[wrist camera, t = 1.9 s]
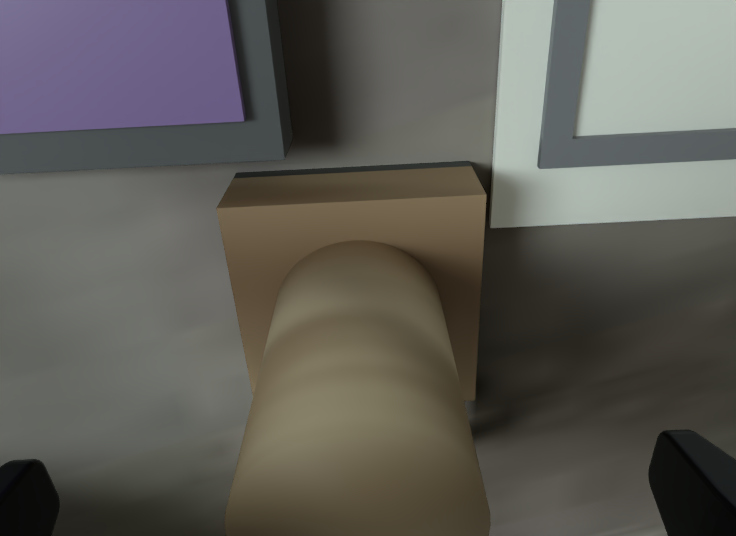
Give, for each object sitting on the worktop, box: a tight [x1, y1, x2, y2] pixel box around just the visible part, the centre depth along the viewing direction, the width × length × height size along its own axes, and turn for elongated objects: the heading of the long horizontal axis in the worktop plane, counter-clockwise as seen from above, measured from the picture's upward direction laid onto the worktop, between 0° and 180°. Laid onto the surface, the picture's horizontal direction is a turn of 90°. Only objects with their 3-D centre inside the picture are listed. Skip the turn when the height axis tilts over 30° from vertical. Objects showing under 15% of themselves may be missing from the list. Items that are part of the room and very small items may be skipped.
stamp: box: [216, 161, 490, 536], centre depth 10 cm, size 5×5×7 cm
